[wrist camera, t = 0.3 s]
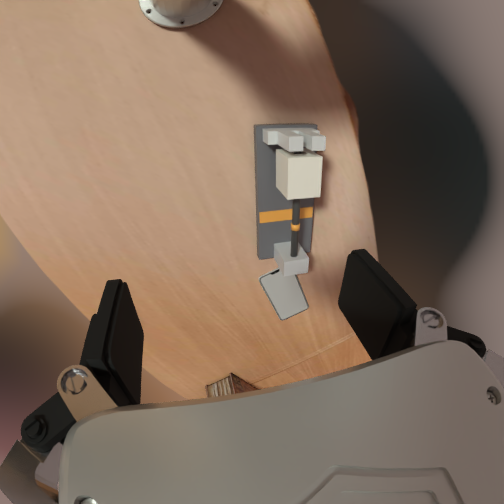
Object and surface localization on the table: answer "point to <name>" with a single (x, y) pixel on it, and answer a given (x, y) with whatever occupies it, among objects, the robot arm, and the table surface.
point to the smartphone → (284, 293)
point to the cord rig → (283, 197)
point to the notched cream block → (298, 174)
